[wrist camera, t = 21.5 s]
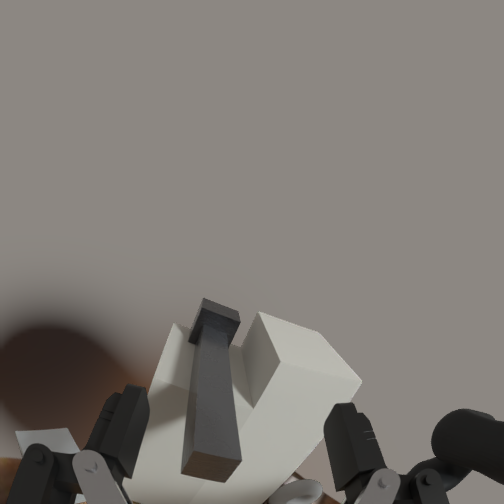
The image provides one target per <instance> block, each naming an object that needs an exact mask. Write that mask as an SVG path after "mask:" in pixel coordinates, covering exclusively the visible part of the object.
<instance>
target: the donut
mask: <svg viewBox="0 0 504 504" xmlns="http://www.w3.org/2000/svg"><path fill="white" fill-rule="evenodd" d="M322 491H323V488H322V486H321V484H320V483H319V482H318V481H315V480H310V479H304V480H298V481H294V482H291V483H288V484H286V485H283V486H282V487H280V488H278V489H277V490H276V491H275V492H274V493H273V494H272V495H271V496H270V497H269V504H312V503H313V502H314V501H316V500H317V499H318V498H319V497H320V496H321V494H322Z"/></svg>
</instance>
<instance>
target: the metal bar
mask: <svg viewBox="0 0 504 504" xmlns="http://www.w3.org/2000/svg"><path fill="white" fill-rule="evenodd" d="M239 325H240V317H239V313H238V311H236V310H233V309H231V308H228V307H225V306H223V305H220V304H218V303H215V302H213V301H210V300H208V299H205V298H203V300H202V302H201V305H200V307H199V310H198V312H197V315H196V317H195V320H194V322H193V325H192V327H191V330H190V334H189V339H188V342H189V343H192V344H195V351H194V358H193V365H192V373H191V380H190V388H189V396H188V404H187V413H186V422H185V431H184V441H183V452H182V463H181V474H183V475H187V476H192V477H196V478H201V479H205V480H210V481H216V482H221V483H225V482H226V481H227V480H228V479H229V477H230V476H231V475H232V474H233V472H234V471H235V470H236V468H237V467H238V466H239V465H240V463H241V462H242V455H241V448H240V441H239V434H238V426H237V419H236V411H235V403H234V395H233V387H232V378H231V369H230V360H229V351H228V348H229V346H230V344H231V342H232V340H233V338H234V335H235V333H236V331H237V329H238V327H239Z"/></svg>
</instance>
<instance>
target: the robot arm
mask: <svg viewBox="0 0 504 504" xmlns="http://www.w3.org/2000/svg"><path fill="white" fill-rule="evenodd" d="M149 416H150V406H149V402H148V397H147V392H146V388H144V387H140V386H136V385H132V384H127V385H126V387H125V389H124V391H123V394H120V393H116V392H115V393H114V394H113V395H111V396H110V397H109V398H108V399H107V400H106V402H105V404H104V406H103V409H102V411H101V413H100V415H99V419H98V420H97V422H96V424H95V426H94V428H93V431H92V433H91V435H90V438H89V440H88V442H87V444H86V446H85V448H84V449H83V450H82V451H80V452H78V453H74V454H67V453H60V452H53V451H51V450H50V449H49V448H48V447H47V446H45V445H43V444H40V443H34V444H31V445H30V446H28V448H27V449H26V451H25V453H24V456H23V458H22V460H21V463H20V465H19V468H18V471H17V473H16V476H15V479H14V481H13V484H12V487H11V490H10V493H9V496H8V499H7V503H6V504H75V500H76V496H77V494H82V495H84V497H85V500H86V502H87V504H133V502H132V500H131V499H130V497H129V495H128V493H127V491H126V489H125V488H124V486H123V484H122V483H123V479H124V477H125V478H128V479H132V476H133V472H134V468H135V465H136V461H137V458H138V454H139V451H140V447H141V444H142V441H143V437H144V434H145V431H146V427H147V424H148V421H149ZM323 433H324V438H325V442H326V446H327V451H328V455H329V460H330V465H331V469H332V474H333V478H334V483H335V489H336V492H337V491H343V490H345V494H346V497H345V498H344V500H343V502H342V503H341V504H449V501H448V498H447V495H446V492H447V491H448V490H451V489H452V488H454V487H455V486H456V485H457V484H459V483H460V482H461V481H462V480H463V479H464V478H465V477H466V476H467V475H468V474H469V473H470V472H471V471H472V470H475V471H477V472H480V473H482V474H483V475H485V476H487V477H489V478H491V479H493V480H494V481H496V482H498V483H500V484H503V485H504V422H502V421H496V420H495V419H494V418H493V417H492V416H491V415H489V414H486V413H483V412H479V411H475V410H471V409H458V410H455V411H452V412H450V413H449V414H447V415H446V416H444V417H443V418H442V419H441V420H440V421H439V423H438V424H437V425H436V427H435V429H434V431H433V434H432V439H431V446H432V450H433V452H434V454H435V456H436V457H435V458H432V459H430V460H426V461H422V462H420V463H418V464H417V465H416V466H414V467H413V468H412V469H411V471H410V472H409V473H408V474H407V475H400V474H397V473H396V472H395V471H393V470H391V469H388V468H387V466H386V465H385V462H384V459H383V456H382V453H381V451H380V448H379V445H378V442H377V440H376V439H375V434H374V432H373V429H372V426H371V423H370V421H369V420H368V418H367V417H366V416H365V415H364V414H363V413H357V410H356V408H355V405H354V404H353V403H351V402H349V403H336V404H335V405H334V406H333V408H332V410H331V412H330V414H329V415H328V417H327V419H326V421H325V423H324V427H323Z"/></svg>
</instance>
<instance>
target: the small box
mask: <svg viewBox="0 0 504 504" xmlns="http://www.w3.org/2000/svg"><path fill="white" fill-rule="evenodd" d="M15 434H16V438H17V441H18V445H19V448H20V451H21V455H22V458H23V456H24V453H25V451H26V449H27V448H28V446H30V445H31V444H34V443H40V444H43V445H45V446H47V447H48V448H49V449H50V450H51V451H53V452H60V453H67V454H74V453H78V452H80V450H79V448H78V447H77V445H76V443H75V441H74V439H73V438H72V436H71V434H70V432H69V430H68V428H58V429H46V430H30V431H15ZM85 501H86V500H85V497H84V495H82V494H77V496H76V500H75V504H76V503H81V502H85Z"/></svg>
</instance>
